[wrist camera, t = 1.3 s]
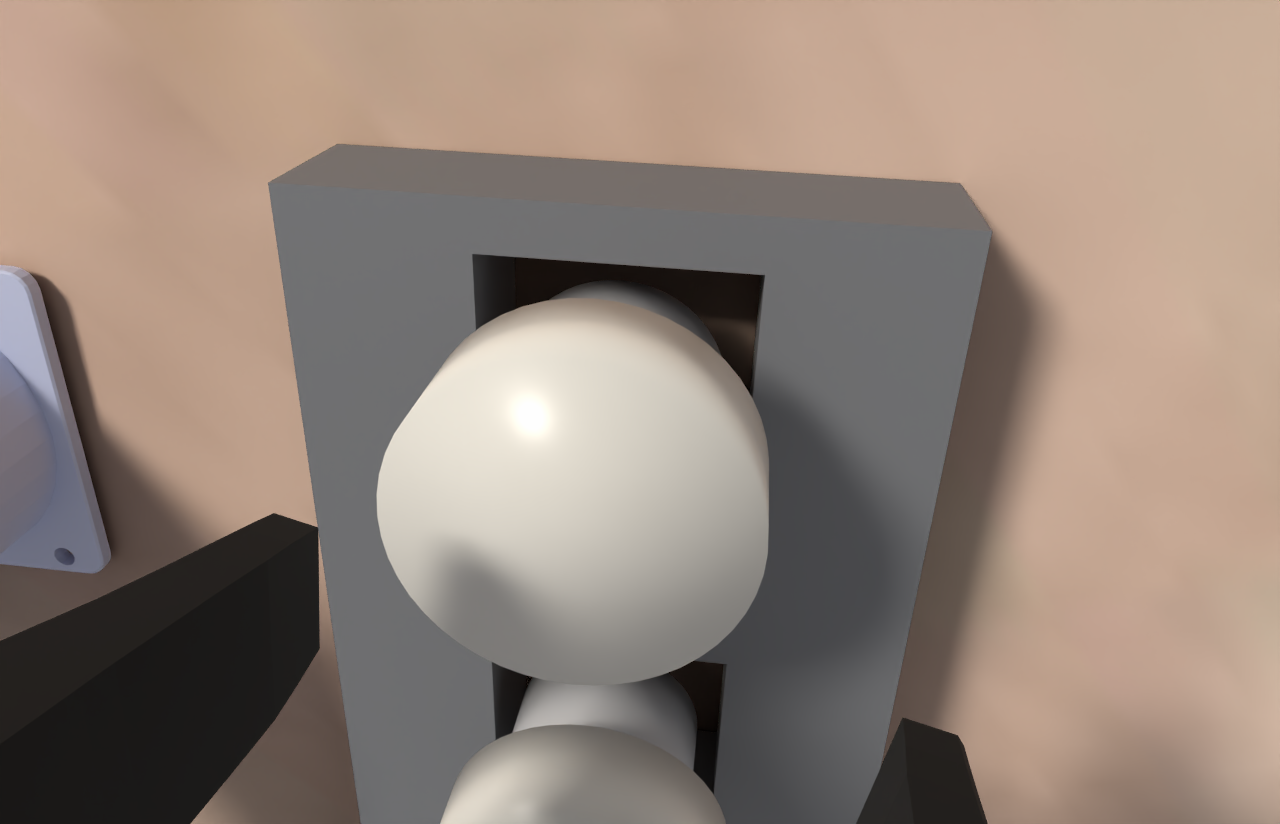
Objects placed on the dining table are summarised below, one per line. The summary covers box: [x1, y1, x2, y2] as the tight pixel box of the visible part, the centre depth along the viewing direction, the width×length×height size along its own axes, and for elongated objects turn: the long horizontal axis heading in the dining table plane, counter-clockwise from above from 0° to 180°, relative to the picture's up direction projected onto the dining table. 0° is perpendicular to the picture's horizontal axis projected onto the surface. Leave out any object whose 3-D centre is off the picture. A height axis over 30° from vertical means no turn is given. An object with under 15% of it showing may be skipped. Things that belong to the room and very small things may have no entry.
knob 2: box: [440, 673, 726, 824], centre depth 20 cm, size 6×6×5 cm
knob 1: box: [377, 280, 769, 686], centre depth 16 cm, size 6×6×5 cm
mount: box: [268, 144, 992, 824], centre depth 23 cm, size 12×24×3 cm, turn 178°
